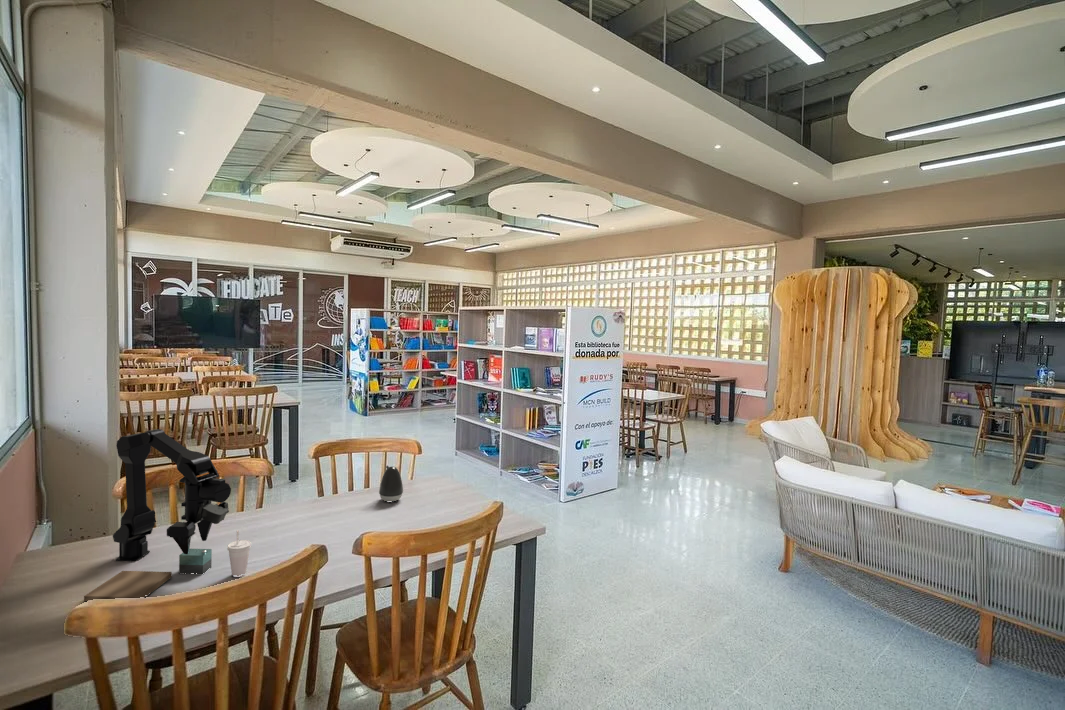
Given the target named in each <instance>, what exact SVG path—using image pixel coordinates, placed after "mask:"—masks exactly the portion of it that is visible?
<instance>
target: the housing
mask: <svg viewBox="0 0 1065 710" xmlns="http://www.w3.org/2000/svg"><path fill="white" fill-rule="evenodd" d="M212 551H213V550H212V549H211V548H189V553H188V554H184V553H183V552H182V553H180V554H178V555H179V557H178V562H179V563H178V568H179V569H178V574H179V575H181V574H180V573H184V574H183V575H192V574H191V573H194V574H193V575H196V573H197V574H203V573H204V574H206V573H207V572H208V571H209V570H210V569H211V568H212V562H213V561H212V557H213V556H212V555H213V554H212V553H213V552H212ZM209 568H210V569H209ZM208 569H209V570H208ZM207 570H208V571H207ZM206 571H207V572H206ZM205 572H206V573H205ZM185 573H186V574H185ZM204 574H203V575H204Z"/></svg>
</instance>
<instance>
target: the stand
mask: <svg viewBox="0 0 1065 710" xmlns="http://www.w3.org/2000/svg"><path fill="white" fill-rule="evenodd" d="M172 574H173V573H172V571H150V570H149V571H148V570H144V571H143V570H141V571H140V570H122V571H120V572H118V573H117V574H115V575H114V576H112V577H111V578H110V579H108V580H106V581H104V582H103V583H101V584H100V585H99V586H97V587H95V588H94V589H92V590H91V591H89V592H88V593H86V594H84V595H83V602H84V603H86V602H85V601H88V600H93V599H115V598H140V597H145V598H147V597H148V596H149V595H150V594H152V593H153V592H154V591H156V590H157V589H158V588H160V587H161V586H162V585H163V584H164V583H166V582H167V581H168V580H170V579H171V578H172V576H173V575H172ZM151 592H152V593H151ZM149 593H150V594H149ZM148 594H149V595H148ZM145 595H148V596H145Z"/></svg>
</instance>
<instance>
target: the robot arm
mask: <svg viewBox="0 0 1065 710" xmlns="http://www.w3.org/2000/svg"><path fill="white" fill-rule="evenodd" d="M115 445H116V450H117V456H118V457H119V458H120V460H121V461H122V462H123V463H124V465H125V466H124V470H125V471H124V472H125V490H126V491H125V492H126V510H125V511H124V512H123V515H122V516H121V519H120V527H119V528H118V529H117V530H116V531H115V532H114V533H113V534H112V539H113V542H114V543H118V545H119V550H118V551H119V553H118V555H119V556H118V557H116V558H115V561H120V562H121V561H122V562H123V561H125V562H137V561H139V560H140V559H141V558H143V557H144V556H146V555H148V554H150V553H151V551H150V550H148V546H149V545H148V544H149V543H148V540H147V536H148V535H151V534H152V533H153V528H154V527H155V526H156V525H155V524H156V523H157V520H156V511H155V510H154V509H151V508H150V507H149V506H148V505H147V504H148V503H147V483H146V482H147V481H146V479H147V478H146V460H147V458H148V456H149V455H150V453H151V449H152V448H153V449H155V450H156V451H158V452H159V453H161V454H162V455H164V456H165V458H166V457H167V458H168V459H169V460H171V461H172V462H173V463H175V464H176V470H177V471H178V472H179V473H180V474H181V475H182V476H183V477H182V478H181V479H179V482H180V483H184V501H182V502H181V507H184V514H183V515H181V517H180V518H181V519H180V520H182V521H177V522H174V523H173V524H171V525H169V526H168V527H167V528H166V537H169V538H171V539H173V540H174V541H175V543H176V544H177V546H178V547H179V549H180V550H181V552H182V553H184V554H188V553H189V549H191V548H190V547H191V540H192V539H191V538H192V537H193V536H194V535H195V534H197V532H195V530H196V529H197V528H198V532H199V536H200V538H201V539H200V540H201V542H206V541H207V539H208V537H209V534H210V530H211V528H212V526H213V524H214V525H218V524H220V523H221V522H222V521H224V520H225V517H226V515H228V513H230V510H229V504H228V503H229V502H227V500H228V499H229V497H230V496H231V493H232V492H231V491H232V488H231V486H230V484H228V483H226V479H225V478H220V474H219V473H218V469H216V467H215V465H214V463H213V462H212V459H211V458H210V456H209V455H207V454H204V453H203V452H201V451H194V450H191V449H189V448H187V447H185V446H184V445H182V444H181V443H179V442H178V441H177V440H175V439H174V438H172V437H170V436H169V435H168V434H166V432H165V431H164V429H160V428H155V429H151V430H146V431H144V432H138V433H135V434H133V433H132V434H130V435H129V434H128V435H123V436H120V437H119V439H118V440H117V441H116V444H115ZM212 502H215V504H213V503H212ZM218 503H219V504H218ZM196 526H197V528H196Z"/></svg>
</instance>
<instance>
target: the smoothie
mask: <svg viewBox="0 0 1065 710" xmlns="http://www.w3.org/2000/svg"><path fill="white" fill-rule="evenodd" d="M239 535H240V532H239V530H236V540H235V541H231V542H230V543H228V545H227V548H226V549H227V551H228V555H229V556H228V557H229V563H230V564H229V565H230V570H231V572H230V573H231V576H232V575H237V576H239V575H241V574H245V573H246V574H247V569H248V562H249V557H250V550H251V549H250V548H251V547H252V542H251V541H250V540H248V539H239V538H240V537H239ZM245 576H246V575H242V576H240V578H243V577H245Z"/></svg>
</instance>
